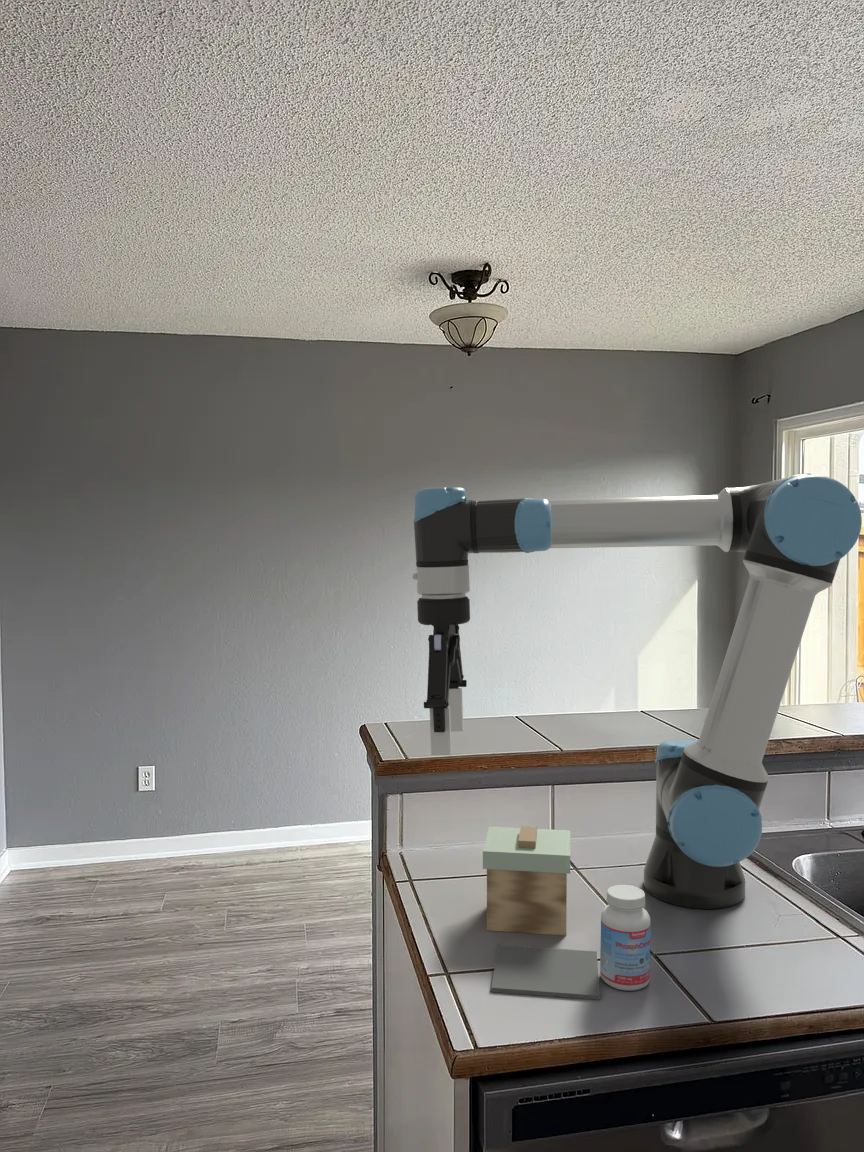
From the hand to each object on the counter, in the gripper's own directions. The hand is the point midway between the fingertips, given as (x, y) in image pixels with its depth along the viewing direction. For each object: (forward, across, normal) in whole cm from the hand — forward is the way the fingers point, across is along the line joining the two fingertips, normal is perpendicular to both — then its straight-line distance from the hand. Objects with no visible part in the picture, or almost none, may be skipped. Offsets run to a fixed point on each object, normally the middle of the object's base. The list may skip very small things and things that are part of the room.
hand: (448, 742), depth 128 cm
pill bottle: (+26, +16, +24) cm, 39 cm away
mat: (+26, +15, +14) cm, 33 cm away
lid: (+17, 0, +11) cm, 20 cm away
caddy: (+26, 0, +11) cm, 28 cm away
